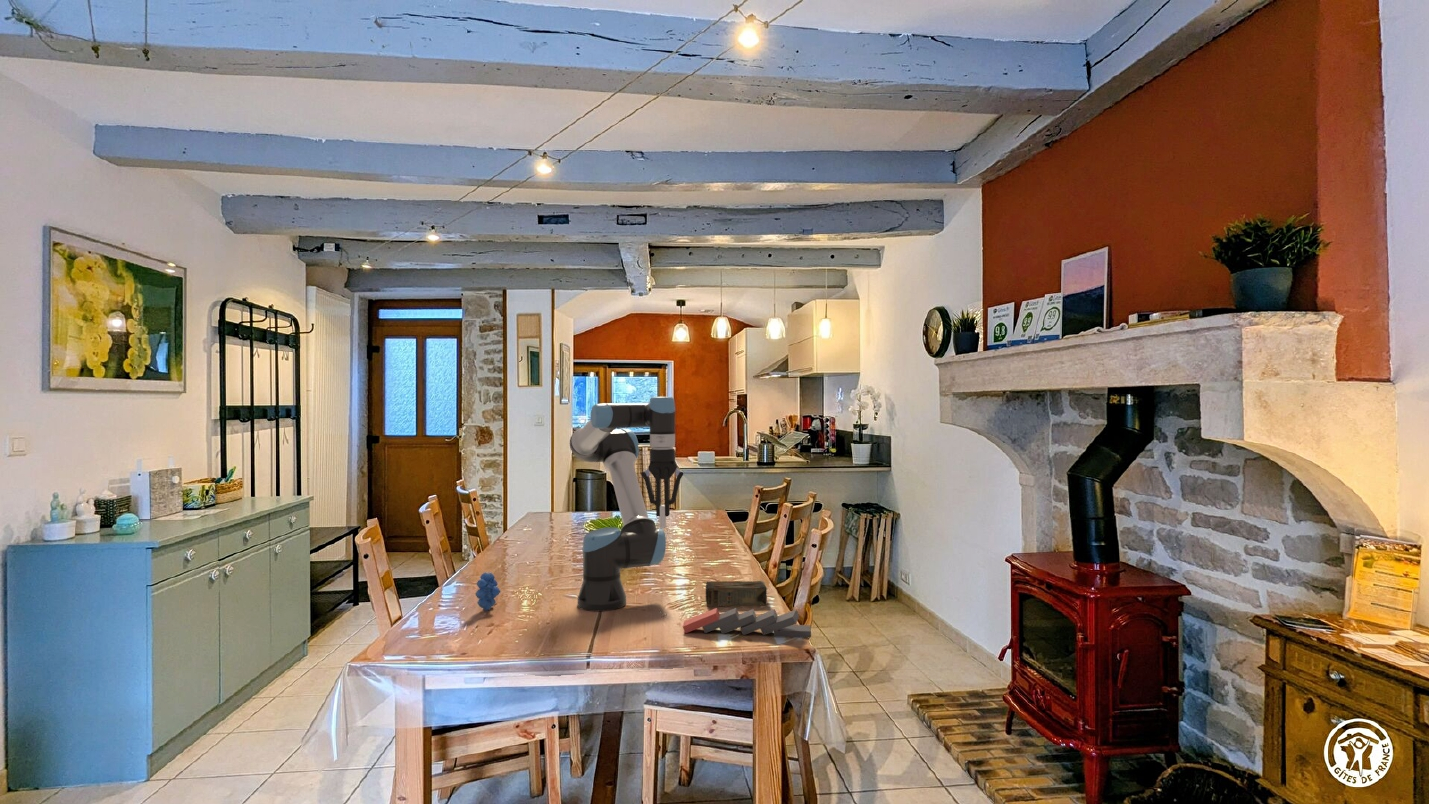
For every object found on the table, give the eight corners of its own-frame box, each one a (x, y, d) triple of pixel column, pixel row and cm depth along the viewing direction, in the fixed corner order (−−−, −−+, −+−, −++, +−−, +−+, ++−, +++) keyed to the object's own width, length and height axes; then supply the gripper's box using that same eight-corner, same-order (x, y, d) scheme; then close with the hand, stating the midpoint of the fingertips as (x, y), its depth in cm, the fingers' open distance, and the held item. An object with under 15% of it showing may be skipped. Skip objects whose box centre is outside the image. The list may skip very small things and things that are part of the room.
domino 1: (702, 626, 189) (735, 613, 188) (703, 621, 194) (736, 607, 193) (705, 633, 188) (738, 619, 188) (706, 627, 193) (738, 614, 193)
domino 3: (740, 628, 187) (773, 615, 186) (742, 622, 192) (774, 609, 191) (743, 635, 187) (776, 621, 186) (745, 629, 192) (777, 615, 191)
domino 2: (719, 627, 188) (752, 614, 188) (720, 621, 193) (753, 608, 193) (722, 634, 188) (755, 621, 188) (723, 628, 193) (756, 615, 192)
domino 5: (773, 630, 186) (811, 631, 185) (774, 624, 191) (810, 625, 190) (773, 637, 186) (811, 638, 185) (774, 631, 191) (810, 632, 190)
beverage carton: (767, 606, 214) (767, 585, 214) (706, 608, 213) (706, 587, 213) (764, 599, 222) (764, 578, 222) (705, 600, 221) (704, 580, 220)
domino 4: (760, 628, 187) (792, 616, 183) (764, 620, 191) (796, 609, 188) (763, 635, 186) (795, 623, 183) (767, 627, 191) (799, 616, 188)
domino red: (682, 626, 189) (715, 613, 188) (684, 620, 194) (716, 607, 193) (685, 633, 189) (718, 619, 188) (687, 627, 194) (719, 614, 193)
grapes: (492, 617, 204) (492, 576, 204) (470, 616, 205) (470, 576, 205) (508, 605, 216) (508, 567, 216) (487, 604, 217) (487, 566, 217)
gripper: (638, 449, 201) (639, 529, 201) (682, 449, 200) (683, 529, 201) (643, 447, 209) (643, 524, 209) (685, 447, 208) (686, 525, 208)
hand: (663, 527), depth 205 cm, fingers closed
